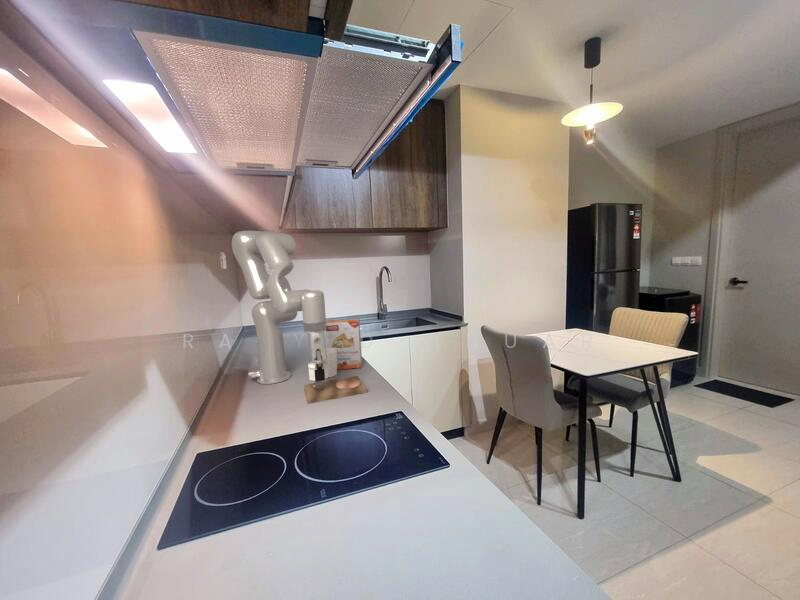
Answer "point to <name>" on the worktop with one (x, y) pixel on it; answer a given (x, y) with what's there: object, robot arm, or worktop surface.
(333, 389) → the post board
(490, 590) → the worktop surface
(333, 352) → the white cup
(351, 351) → the cracker box
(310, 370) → the cap
